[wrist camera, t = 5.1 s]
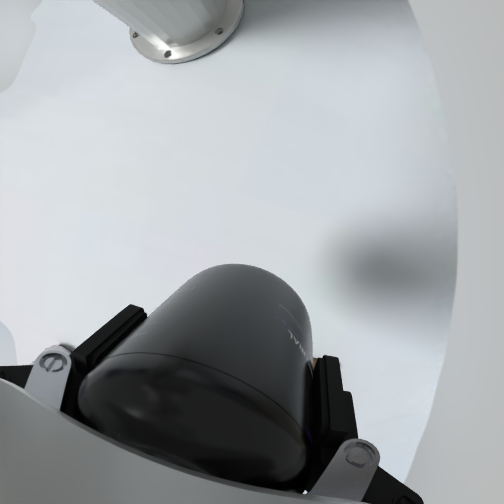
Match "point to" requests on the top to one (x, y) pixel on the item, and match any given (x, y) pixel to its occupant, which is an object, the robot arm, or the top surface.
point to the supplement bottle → (214, 381)
